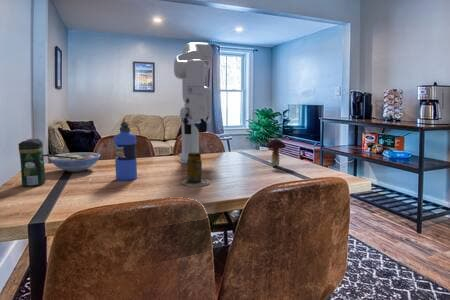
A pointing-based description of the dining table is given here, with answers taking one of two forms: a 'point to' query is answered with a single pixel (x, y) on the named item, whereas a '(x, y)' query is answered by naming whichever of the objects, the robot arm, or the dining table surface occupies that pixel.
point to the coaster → (196, 184)
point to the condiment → (194, 169)
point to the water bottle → (125, 154)
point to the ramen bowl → (74, 161)
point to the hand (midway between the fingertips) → (195, 133)
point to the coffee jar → (32, 162)
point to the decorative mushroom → (275, 150)
